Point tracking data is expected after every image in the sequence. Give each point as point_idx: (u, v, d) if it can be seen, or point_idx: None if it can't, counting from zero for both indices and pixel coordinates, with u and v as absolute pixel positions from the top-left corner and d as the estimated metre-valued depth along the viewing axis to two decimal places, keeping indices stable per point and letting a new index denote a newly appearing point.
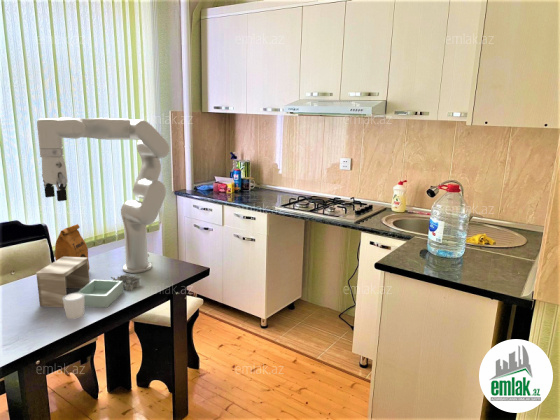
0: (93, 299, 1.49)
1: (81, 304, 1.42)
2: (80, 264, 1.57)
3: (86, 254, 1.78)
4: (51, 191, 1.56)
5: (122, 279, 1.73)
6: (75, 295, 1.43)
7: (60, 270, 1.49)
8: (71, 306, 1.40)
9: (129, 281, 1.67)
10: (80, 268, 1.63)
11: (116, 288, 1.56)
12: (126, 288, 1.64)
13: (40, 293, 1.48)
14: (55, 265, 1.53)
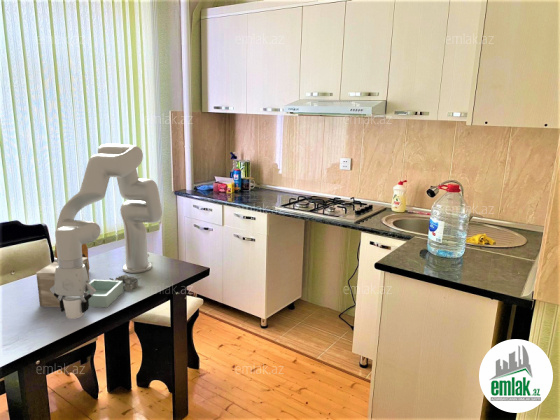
0: (93, 299, 1.49)
1: None
2: None
3: (86, 254, 1.78)
4: None
5: (120, 280, 1.72)
6: None
7: None
8: (71, 306, 1.40)
9: (128, 281, 1.67)
10: None
11: (116, 288, 1.56)
12: (126, 289, 1.64)
13: (40, 293, 1.48)
14: (55, 265, 1.53)
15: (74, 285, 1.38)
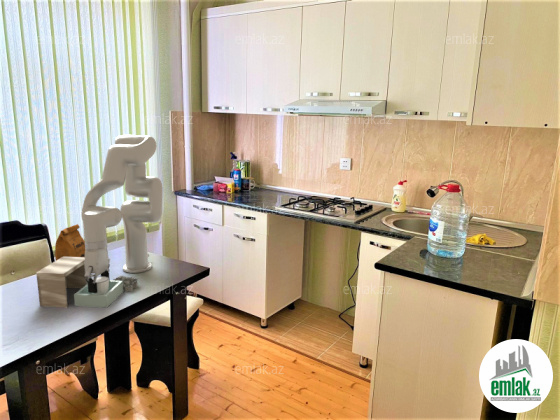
0: (93, 299, 1.49)
1: None
2: (80, 264, 1.57)
3: None
4: None
5: None
6: (101, 280, 1.55)
7: (60, 270, 1.49)
8: None
9: (128, 282, 1.66)
10: (80, 268, 1.63)
11: (116, 288, 1.56)
12: (126, 289, 1.63)
13: (40, 293, 1.48)
14: (55, 265, 1.53)
15: None
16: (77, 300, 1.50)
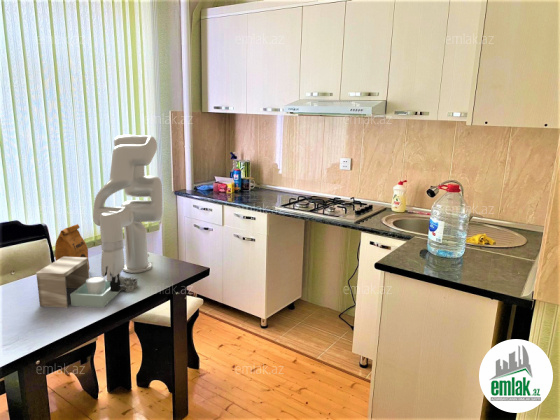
0: (89, 299, 1.49)
1: (89, 288, 1.53)
2: (80, 264, 1.57)
3: (86, 254, 1.78)
4: None
5: None
6: (98, 279, 1.55)
7: (60, 270, 1.49)
8: None
9: (128, 282, 1.66)
10: (80, 268, 1.63)
11: None
12: (127, 289, 1.63)
13: (40, 293, 1.48)
14: (55, 265, 1.53)
15: None
16: (73, 300, 1.50)
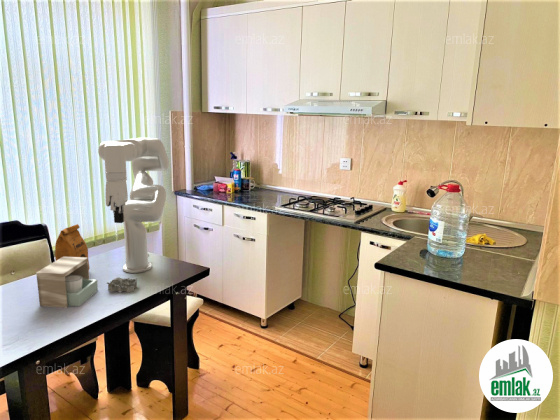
0: None
1: (66, 287, 1.53)
2: (80, 264, 1.57)
3: (86, 254, 1.78)
4: None
5: (113, 283, 1.68)
6: (75, 278, 1.56)
7: (60, 270, 1.49)
8: None
9: (128, 283, 1.65)
10: (80, 268, 1.63)
11: (89, 287, 1.57)
12: (128, 290, 1.63)
13: (40, 293, 1.48)
14: (55, 265, 1.53)
15: None
16: None
